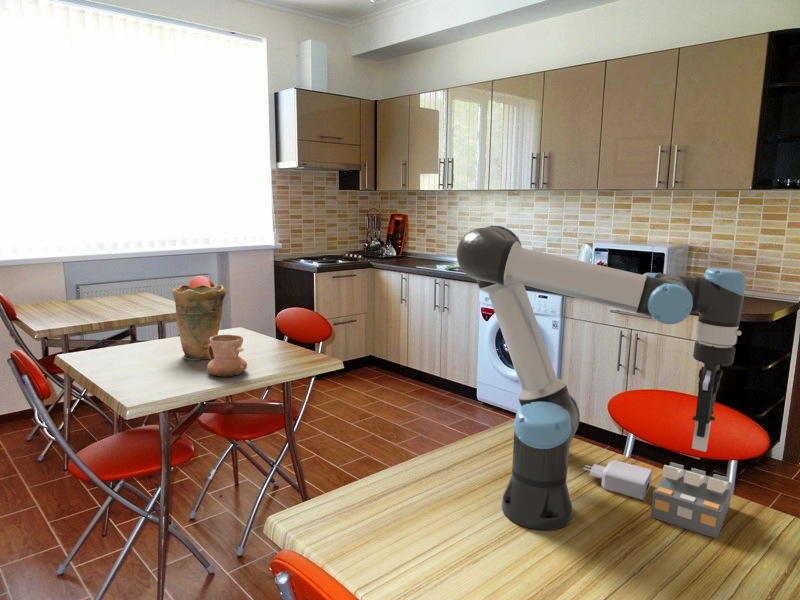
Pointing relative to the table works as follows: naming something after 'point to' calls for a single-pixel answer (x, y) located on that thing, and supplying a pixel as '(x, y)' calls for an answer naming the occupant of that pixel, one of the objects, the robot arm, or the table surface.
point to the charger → (623, 478)
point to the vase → (198, 317)
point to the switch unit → (691, 505)
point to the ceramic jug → (226, 355)
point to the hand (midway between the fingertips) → (699, 448)
